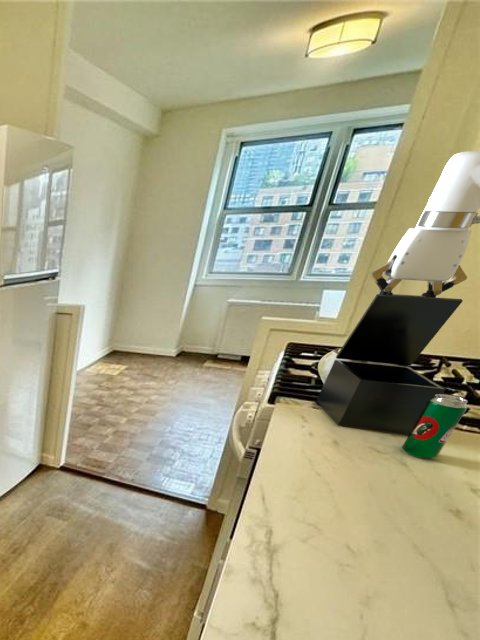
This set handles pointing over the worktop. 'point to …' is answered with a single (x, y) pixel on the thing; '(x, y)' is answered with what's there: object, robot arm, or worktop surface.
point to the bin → (376, 396)
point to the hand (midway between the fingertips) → (399, 310)
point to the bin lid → (397, 328)
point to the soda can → (434, 426)
